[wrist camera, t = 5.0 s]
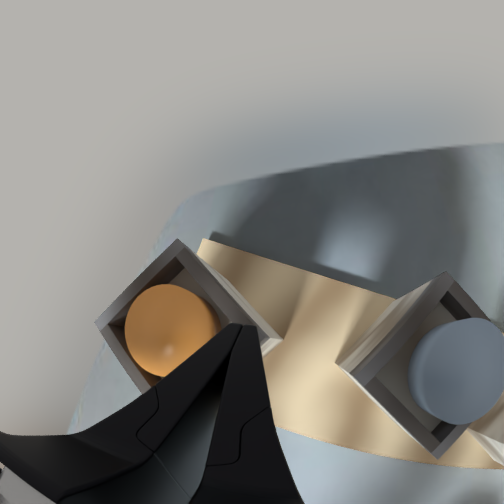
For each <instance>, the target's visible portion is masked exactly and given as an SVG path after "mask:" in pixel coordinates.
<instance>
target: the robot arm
mask: <svg viewBox="0 0 504 504" xmlns="http://www.w3.org/2000/svg"><path fill="white" fill-rule="evenodd" d="M0 462H1V463H3V465H5V467H4V468H3V470H2V469H1V468H0V504H305V503H304V502H303V500H302V498H301V496H300V494H299V492H298V490H297V487H296V485H295V482H294V480H293V477H292V475H291V472H290V469H289V467H288V464H287V461H286V459H285V456H284V453H283V451H282V448H281V445H280V442H279V439H278V436H277V433H276V428H275V424H274V419H273V414H272V408H271V403H270V398H269V392H268V386H267V380H266V375H265V369H264V363H263V357H262V352H261V346H260V340H259V334H258V328H257V326H256V325H249V324H245V325H243V324H240V323H229V324H228V325H227V326H226V327H224V328H223V329H222V330H221V331H220V332H218V333H217V334H216V335H215V336H214V337H213V338H211V339H210V340H209V341H208V342H207V343H205V344H204V345H203V346H202V347H201V348H199V349H198V350H197V351H196V352H194V353H193V354H192V355H191V356H190V357H188V358H187V359H186V360H185V361H184V362H182V363H181V364H180V365H179V366H177V367H176V368H175V369H174V370H172V371H171V372H170V373H169V374H168V375H166V376H165V377H164V378H163V379H161V380H160V381H159V382H158V383H156V385H155V386H152V387H151V388H150V389H149V390H147V391H146V392H145V393H143V394H142V395H141V396H139V397H138V398H137V399H135V400H134V401H133V402H131V403H130V404H128V405H126V406H125V407H123V408H122V409H120V410H119V411H117V412H115V413H114V414H112V415H110V416H109V417H107V418H105V419H104V420H102V421H100V422H99V423H97V424H95V425H93V426H92V427H90V428H88V429H86V430H84V431H82V432H79V433H75V434H70V435H50V436H49V435H48V436H20V435H19V436H18V435H10V434H6V433H3V432H1V431H0Z"/></svg>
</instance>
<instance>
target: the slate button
mask: <svg viewBox="0 0 504 504" xmlns="http://www.w3.org/2000/svg"><path fill="white" fill-rule="evenodd" d="M407 376H408V387H409V391H410V394H411V396H412V398H413V400H414V401H415V403H416V404H417V405H418V406H419V407H420V408H421V409H423V410H424V411H426V412H428V413H429V414H431V415H433V416H435V417H437V418H439V419H441V420H443V421H445V422H447V423H450V424H455V425H461V424H467V423H471V422H473V421H475V420H477V419H479V418H481V417H482V416H484V415H485V414H486V413H487V412H488V411H489V410H490V409H491V408H492V407H493V406H494V405H495V404H496V402H497V401H498V399H499V398H500V396H501V394H502V392H503V390H504V336H503V334H502V332H501V331H500V330H499V329H498V328H497V326H495V325H494V324H493V323H491V322H490V321H488V320H485V319H482V318H468V319H463V320H458V321H454V322H449V323H444V324H441V325H439V326H437V327H435V328H433V329H431V330H430V331H429V332H428V333H426V334H425V335H424V336H423V337H422V339H421V340H420V341H419V342H418V344H417V346H416V347H415V349H414V351H413V353H412V355H411V358H410V361H409V366H408V374H407Z"/></svg>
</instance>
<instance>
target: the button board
mask: <svg viewBox="0 0 504 504" xmlns="http://www.w3.org/2000/svg"><path fill="white" fill-rule="evenodd" d="M161 284H171V285H176V286H179V287H182V288H184V289H186V290H188V291H190V292H192V293H194V294H197V295H199V296H200V297H202V298H204V299H205V300H206V301H208V302H209V303H210V304H211V305H212V307H213V308H214V309H215V311H216V313H217V315H218V317H219V320H220V324H221V330H222V329H223V328H224V327H226V326H227V325H228V324H229V323H240V324H243V325H245V324H249V325H256V326H257V328H258V334H259V340H260V346H261V352H262V357H263V363H264V369H265V375H266V380H267V386H268V392H269V398H270V403H271V408H272V414H273V419H274V424H275V426H276V427H279V428H282V429H285V430H288V431H291V432H294V433H297V434H300V435H304V436H307V437H310V438H313V439H317V440H320V441H324V442H327V443H331V444H334V445H338V446H342V447H346V448H350V449H354V450H358V451H362V452H366V453H371V454H376V455H380V456H385V457H390V458H396V459H401V460H407V461H413V462H420V463H427V464H435V465H443V466H453V467H465V468H481V469H504V390H503V392H502V394H501V396H500V398H499V399H498V401H497V402H496V404H495V405H494V406H493V407H492V408H491V409H490V410H489V411H488V412H487V413H486V414H485V415H484V416H482V417H481V418H479V419H477V420H475V421H473V422H471V423H467V424H461V425H455V424H450V423H447V422H445V421H443V420H441V419H439V418H437V417H435V416H433V415H431V414H429V413H428V412H426V411H424V410H423V409H421V408H420V407H419V406H418V405H417V404H416V403H415V401H414V400H413V398H412V396H411V394H410V391H409V387H408V376H407V374H408V366H409V361H410V358H411V355H412V353H413V351H414V349H415V347H416V346H417V344H418V342H419V341H420V340H421V339H422V337H423V336H424V335H425V334H426V333H428V332H429V331H430V330H431V329H433V328H435V327H437V326H439V325H441V324H444V323H449V322H454V321H458V320H463V319H468V318H482V319H485V320H488V321H490V320H489V318H488V317H487V316H486V315H485V314H484V313H483V311H482V310H481V309H480V308H479V307H478V306H477V304H476V303H475V302H474V301H473V300H472V299H471V298H470V296H469V295H468V294H467V293H466V292H465V291H464V290H463V289H462V288H461V286H460V285H459V284H458V283H457V282H456V281H455V280H454V279H453V278H452V277H451V276H450V275H449V274H448V273H447V272H446V271H445V272H444V273H442V274H440V275H439V276H437V277H435V278H434V279H432V280H430V281H429V282H427V283H425V284H423V285H422V286H420V287H418V288H416V289H415V290H413V291H411V292H409V293H408V294H406V295H404V296H402V297H400V298H398V299H395V298H391V297H388V296H385V295H382V294H379V293H375V292H372V291H369V290H366V289H363V288H360V287H356V286H353V285H350V284H347V283H344V282H340V281H337V280H334V279H331V278H328V277H325V276H321V275H318V274H315V273H312V272H309V271H306V270H302V269H299V268H296V267H293V266H290V265H286V264H283V263H280V262H277V261H274V260H271V259H267V258H264V257H261V256H258V255H255V254H252V253H248V252H245V251H242V250H239V249H236V248H233V247H230V246H226V245H223V244H220V243H217V242H214V241H211V240H207V239H204V238H203V240H202V242H201V245H200V247H199V250H198V252H197V254H195V253H194V252H193V251H192V250H191V249H189V248H188V247H187V246H186V245H185V244H183V243H182V242H181V241H180V240H179V239H176V240H175V241H174V242H173V243H172V244H171V245H170V246H169V247H168V248H167V249H166V250H165V251H164V252H163V253H162V254H161V255H160V256H159V257H158V258H157V259H155V260H154V261H153V262H152V263H151V264H150V265H149V266H148V267H147V268H146V269H145V270H144V271H143V272H142V273H141V274H140V275H139V276H138V277H137V278H136V279H135V280H134V281H133V282H132V283H131V284H130V285H129V286H128V287H127V288H126V289H125V291H124V292H123V293H122V294H121V295H120V296H119V297H118V298H117V299H116V300H115V301H114V302H113V303H112V304H111V305H110V306H109V307H108V308H107V309H106V310H105V311H104V312H103V313H102V314H101V316H100V317H99V318H98V319H97V320H96V321H95V324H96V325H97V327H98V329H99V331H100V332H101V334H102V335H103V337H104V339H105V340H106V342H107V343H108V345H109V347H110V348H111V350H112V351H113V353H114V354H115V356H116V357H117V359H118V360H119V362H120V363H121V365H122V366H123V368H124V369H125V371H126V372H127V374H128V375H129V376H130V378H131V379H132V381H133V382H134V383H135V385H136V386H137V388H138V389H139V390H140V392H141V393H142V394H143V393H145V392H146V391H147V390H149V389H150V388H151V387H152V386H155V385H156V383H158V382H159V381H160V380H161V379H163V378H164V377H163V376H157V375H154V374H152V373H150V372H148V371H146V370H145V369H143V368H142V367H141V366H140V365H139V364H138V363H137V362H136V361H135V360H134V358H133V357H132V355H131V353H130V351H129V349H128V346H127V343H126V338H125V322H126V317H127V314H128V311H129V309H130V307H131V305H132V304H133V302H134V301H135V299H136V298H137V297H138V296H139V295H140V294H141V293H142V292H144V291H145V290H147V289H149V288H151V287H153V286H156V285H161ZM490 322H491V321H490ZM491 323H492V322H491ZM502 334H503V336H504V333H503V332H502Z"/></svg>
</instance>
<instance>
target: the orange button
mask: <svg viewBox="0 0 504 504" xmlns="http://www.w3.org/2000/svg"><path fill="white" fill-rule="evenodd" d="M220 331H221V324H220V320H219V317H218V315H217V313H216V311H215V309H214V308H213V307H212V305H211V304H210V303H209V302H208V301H206V300H205V299H204V298H202V297H200V296H199V295H197V294H194V293H192V292H190V291H188V290H186V289H184V288H182V287H179V286H176V285H171V284H161V285H156V286H153V287H151V288H149V289H147V290H145V291H144V292H142V293H141V294H140V295H139V296H138V297H137V298H136V299H135V301H134V302H133V304H132V305H131V307H130V309H129V311H128V314H127V317H126V322H125V338H126V343H127V346H128V349H129V351H130V353H131V355H132V357H133V358H134V360H135V361H136V362H137V363H138V364H139V365H140V366H141V367H142V368H143V369H145V370H146V371H148V372H150V373H152V374H154V375H157V376H163V377H165V376H166V375H168V374H169V373H170V372H171V371H172V370H174V369H175V368H176V367H177V366H179V365H180V364H181V363H182V362H184V361H185V360H186V359H187V358H188V357H190V356H191V355H192V354H193V353H194V352H196V351H197V350H198V349H199V348H201V347H202V346H203V345H204V344H205V343H207V342H208V341H209V340H210V339H211V338H213V337H214V336H215V335H216V334H217V333H218V332H220Z"/></svg>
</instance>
